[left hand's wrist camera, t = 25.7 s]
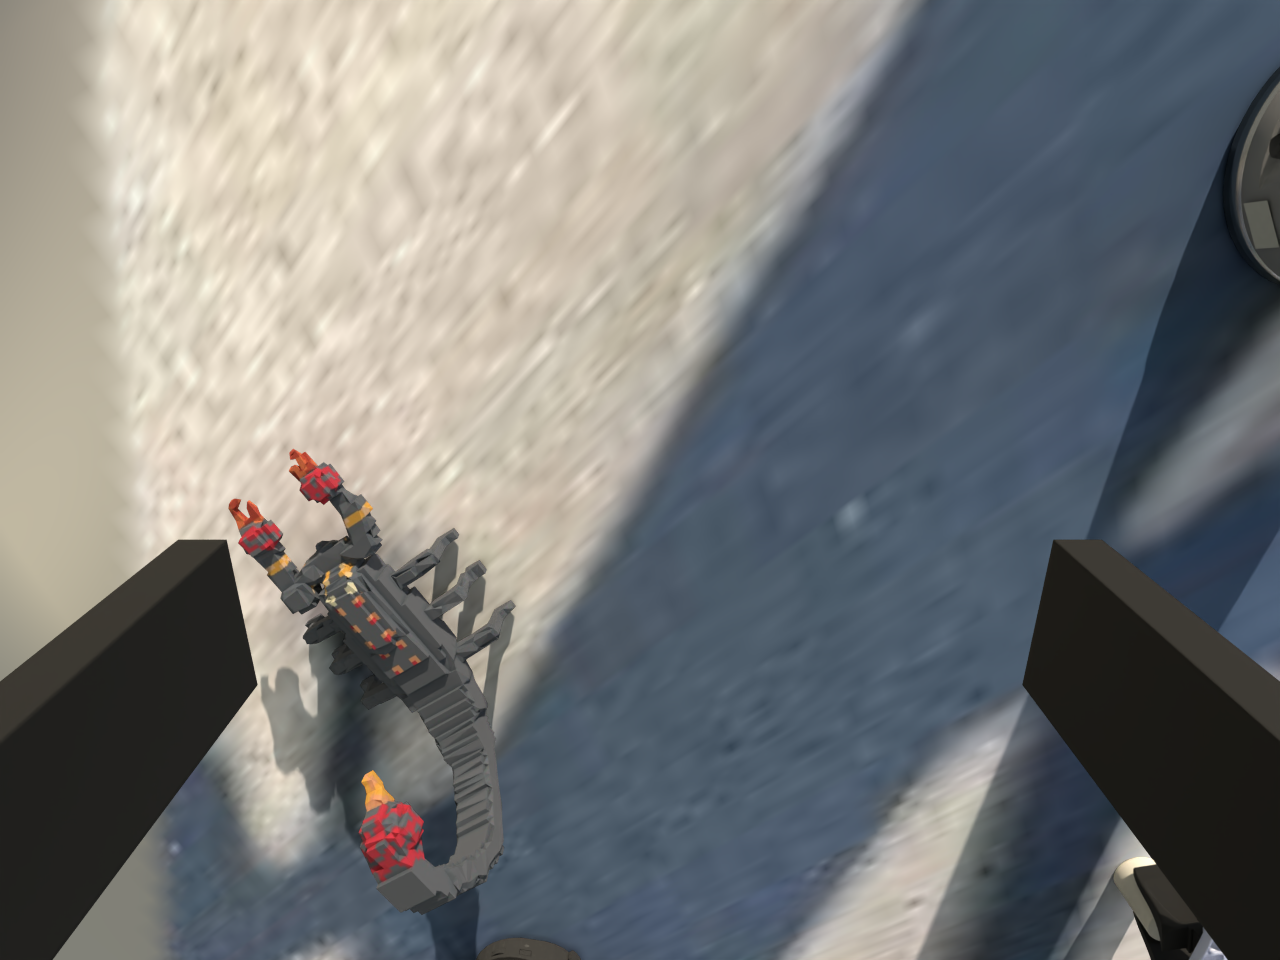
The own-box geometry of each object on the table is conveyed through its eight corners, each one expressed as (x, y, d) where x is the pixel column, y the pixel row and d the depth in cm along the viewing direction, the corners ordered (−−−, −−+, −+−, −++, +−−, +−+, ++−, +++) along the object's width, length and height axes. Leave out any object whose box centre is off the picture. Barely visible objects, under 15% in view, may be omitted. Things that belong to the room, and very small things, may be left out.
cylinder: (1103, 881, 66) (1137, 932, 62) (1133, 850, 65) (1169, 901, 60) (1139, 895, 67) (1175, 948, 62) (1168, 866, 65) (1207, 917, 61)
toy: (443, 770, 61) (368, 999, 44) (203, 505, 53) (-3, 663, 36) (585, 694, 59) (563, 907, 42) (356, 404, 51) (211, 521, 34)
